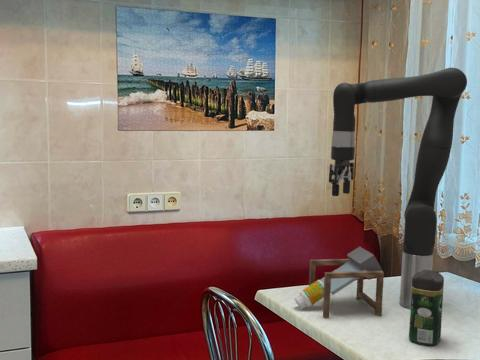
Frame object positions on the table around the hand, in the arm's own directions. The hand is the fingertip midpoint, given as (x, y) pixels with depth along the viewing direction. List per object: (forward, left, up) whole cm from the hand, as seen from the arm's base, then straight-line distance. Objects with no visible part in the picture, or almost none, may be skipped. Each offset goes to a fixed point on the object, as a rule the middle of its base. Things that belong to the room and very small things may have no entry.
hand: (340, 194), depth 177 cm
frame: (+2, +12, -34) cm, 36 cm away
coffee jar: (-11, +38, -34) cm, 52 cm away
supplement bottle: (+8, +11, -27) cm, 31 cm away
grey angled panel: (-1, +12, -26) cm, 28 cm away
